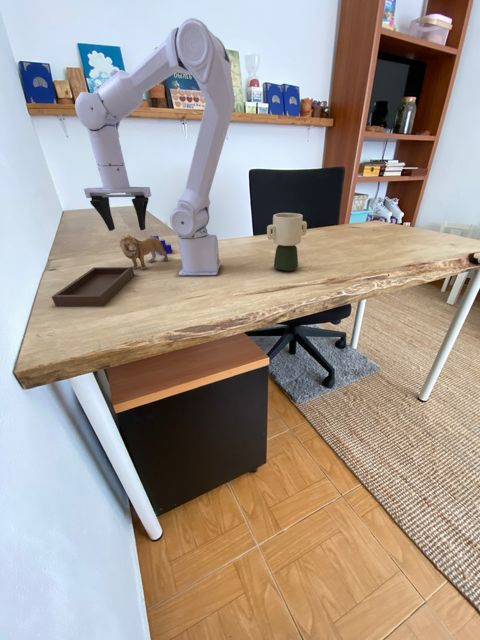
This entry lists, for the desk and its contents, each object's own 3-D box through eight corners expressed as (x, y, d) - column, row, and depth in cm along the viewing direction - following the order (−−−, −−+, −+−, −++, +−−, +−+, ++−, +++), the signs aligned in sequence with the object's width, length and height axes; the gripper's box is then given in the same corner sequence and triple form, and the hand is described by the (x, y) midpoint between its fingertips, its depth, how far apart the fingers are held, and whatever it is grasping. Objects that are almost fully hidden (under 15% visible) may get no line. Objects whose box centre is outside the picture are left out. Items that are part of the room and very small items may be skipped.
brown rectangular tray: (134, 275, 73) (132, 267, 72) (103, 306, 59) (99, 296, 58) (96, 275, 73) (93, 267, 72) (55, 306, 59) (51, 296, 58)
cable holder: (172, 253, 89) (169, 239, 87) (161, 254, 88) (158, 241, 85) (163, 247, 95) (161, 234, 92) (153, 248, 93) (150, 235, 91)
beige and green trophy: (296, 262, 81) (299, 211, 74) (310, 269, 76) (315, 215, 69) (261, 267, 78) (260, 214, 70) (273, 276, 72) (274, 219, 65)
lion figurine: (138, 275, 73) (128, 237, 68) (121, 272, 75) (111, 235, 70) (173, 258, 85) (167, 225, 80) (158, 256, 86) (151, 223, 81)
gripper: (149, 164, 69) (160, 225, 77) (86, 165, 69) (104, 226, 76) (139, 165, 63) (153, 231, 71) (71, 166, 63) (92, 233, 71)
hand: (127, 229), depth 73 cm, fingers open, 7 cm apart
